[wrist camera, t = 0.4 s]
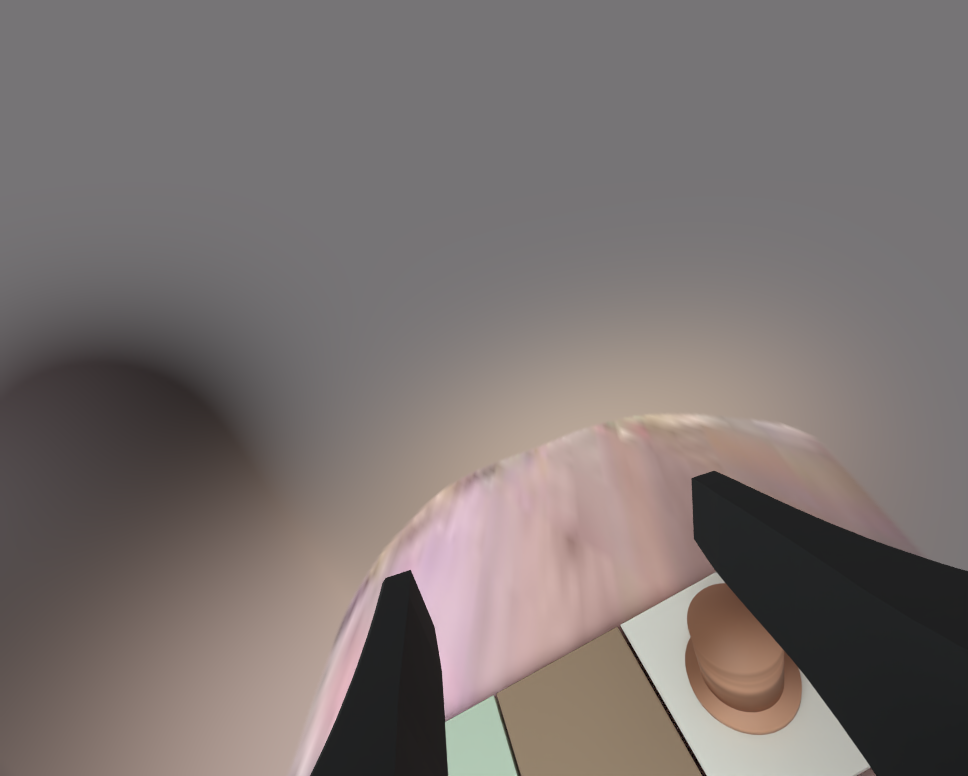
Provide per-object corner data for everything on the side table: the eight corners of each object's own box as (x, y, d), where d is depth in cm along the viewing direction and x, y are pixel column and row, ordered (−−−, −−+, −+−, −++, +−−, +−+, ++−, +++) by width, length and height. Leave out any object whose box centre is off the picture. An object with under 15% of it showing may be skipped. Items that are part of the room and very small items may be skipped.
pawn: (828, 702, 22) (836, 652, 19) (733, 756, 22) (723, 715, 19) (747, 605, 26) (740, 550, 23) (666, 650, 26) (648, 601, 23)
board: (907, 746, 21) (909, 743, 20) (398, 1036, 20) (392, 1037, 20) (740, 563, 29) (739, 558, 28) (375, 765, 28) (370, 763, 28)
